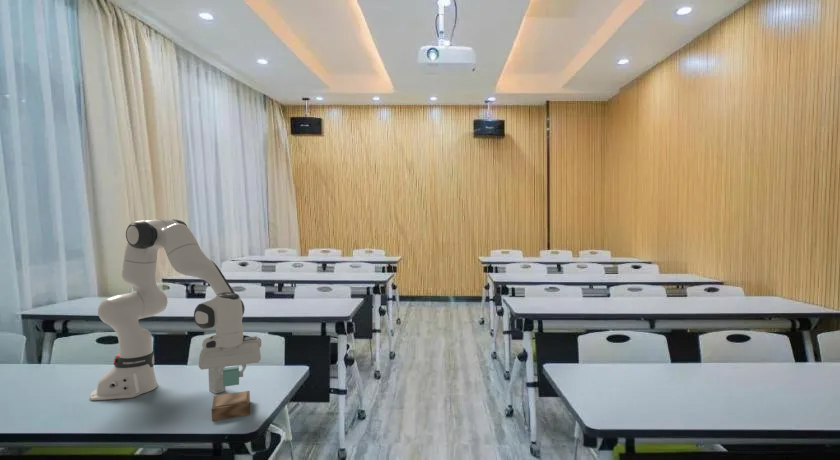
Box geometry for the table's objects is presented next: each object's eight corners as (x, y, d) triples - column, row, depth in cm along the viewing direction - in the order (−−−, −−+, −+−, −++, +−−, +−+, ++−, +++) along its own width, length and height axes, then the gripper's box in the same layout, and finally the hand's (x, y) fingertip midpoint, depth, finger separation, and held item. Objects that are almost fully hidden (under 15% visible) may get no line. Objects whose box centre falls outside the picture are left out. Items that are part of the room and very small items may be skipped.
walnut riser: (212, 420, 153) (211, 408, 153) (214, 406, 164) (214, 394, 164) (250, 414, 157) (249, 402, 157) (249, 401, 168) (249, 389, 168)
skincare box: (226, 391, 179) (225, 361, 178) (215, 394, 175) (214, 363, 175) (219, 387, 183) (218, 357, 182) (208, 390, 180) (207, 360, 179)
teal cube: (223, 386, 157) (222, 372, 157) (224, 381, 162) (223, 367, 161) (238, 384, 159) (238, 370, 159) (239, 379, 163) (238, 366, 163)
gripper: (260, 333, 166) (262, 370, 167) (199, 340, 159) (200, 378, 160) (261, 337, 160) (262, 376, 161) (197, 344, 153) (198, 385, 154)
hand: (231, 377), depth 160 cm, fingers closed on teal cube, 5 cm apart
